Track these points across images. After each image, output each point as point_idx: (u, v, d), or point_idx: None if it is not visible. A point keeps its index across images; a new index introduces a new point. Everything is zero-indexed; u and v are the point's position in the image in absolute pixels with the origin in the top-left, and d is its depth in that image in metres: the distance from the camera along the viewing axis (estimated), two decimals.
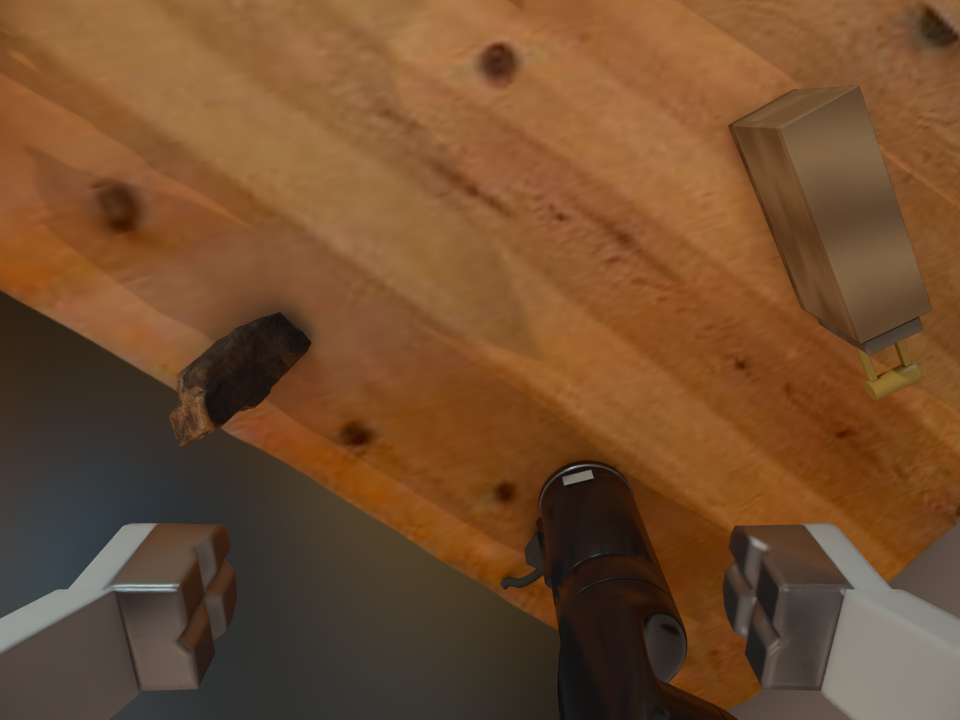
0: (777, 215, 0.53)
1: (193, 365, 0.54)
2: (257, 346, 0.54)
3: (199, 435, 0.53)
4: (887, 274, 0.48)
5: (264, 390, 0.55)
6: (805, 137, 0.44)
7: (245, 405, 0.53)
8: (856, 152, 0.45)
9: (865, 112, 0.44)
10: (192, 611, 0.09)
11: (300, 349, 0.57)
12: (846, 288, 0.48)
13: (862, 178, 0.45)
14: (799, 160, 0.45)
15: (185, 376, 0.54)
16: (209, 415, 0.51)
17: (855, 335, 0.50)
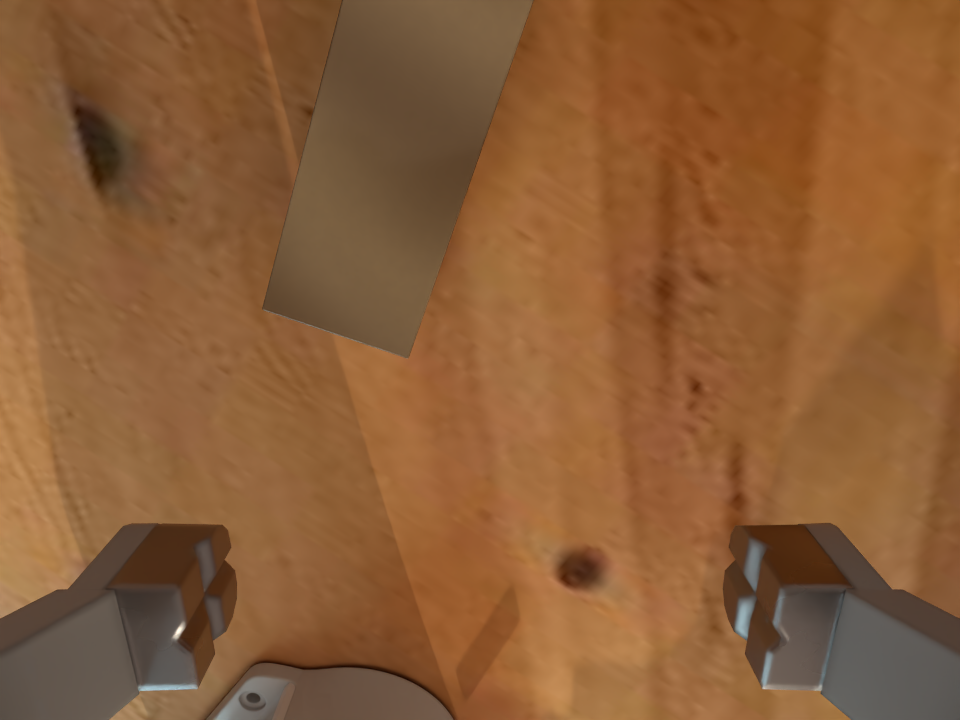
0: None
1: None
2: None
3: None
4: None
5: None
6: (386, 313, 0.24)
7: None
8: (331, 216, 0.22)
9: (278, 263, 0.23)
10: (192, 611, 0.09)
11: None
12: None
13: (352, 164, 0.22)
14: (419, 289, 0.23)
15: None
16: None
17: None
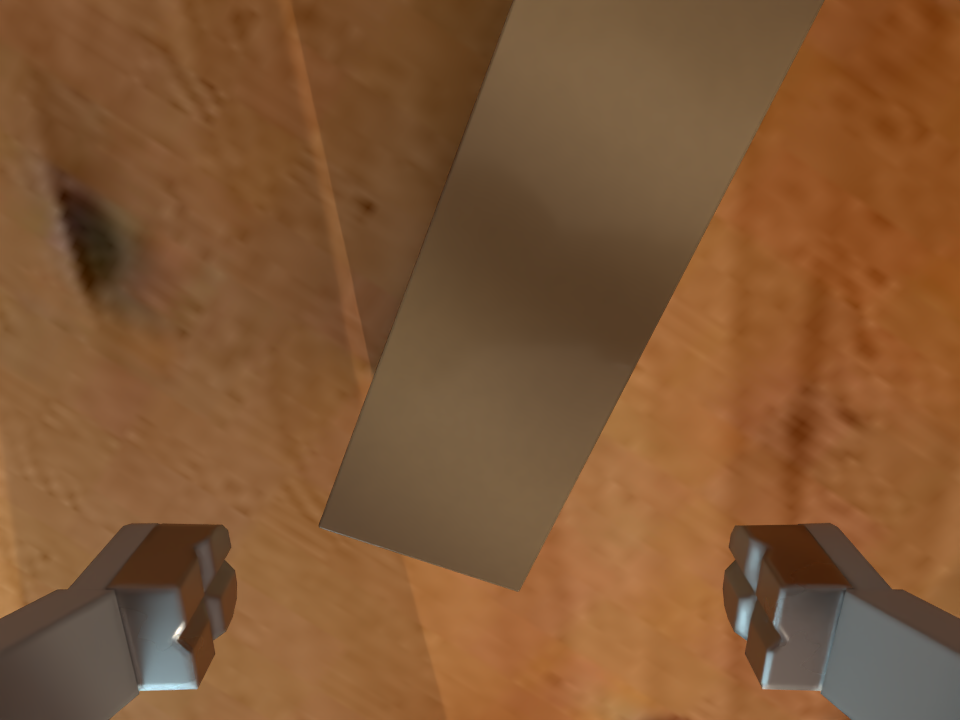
0: None
1: None
2: None
3: None
4: (632, 7, 0.12)
5: None
6: (494, 536, 0.17)
7: None
8: (428, 411, 0.15)
9: (346, 470, 0.16)
10: (192, 611, 0.09)
11: None
12: (753, 93, 0.13)
13: (464, 344, 0.15)
14: (545, 507, 0.16)
15: None
16: None
17: None
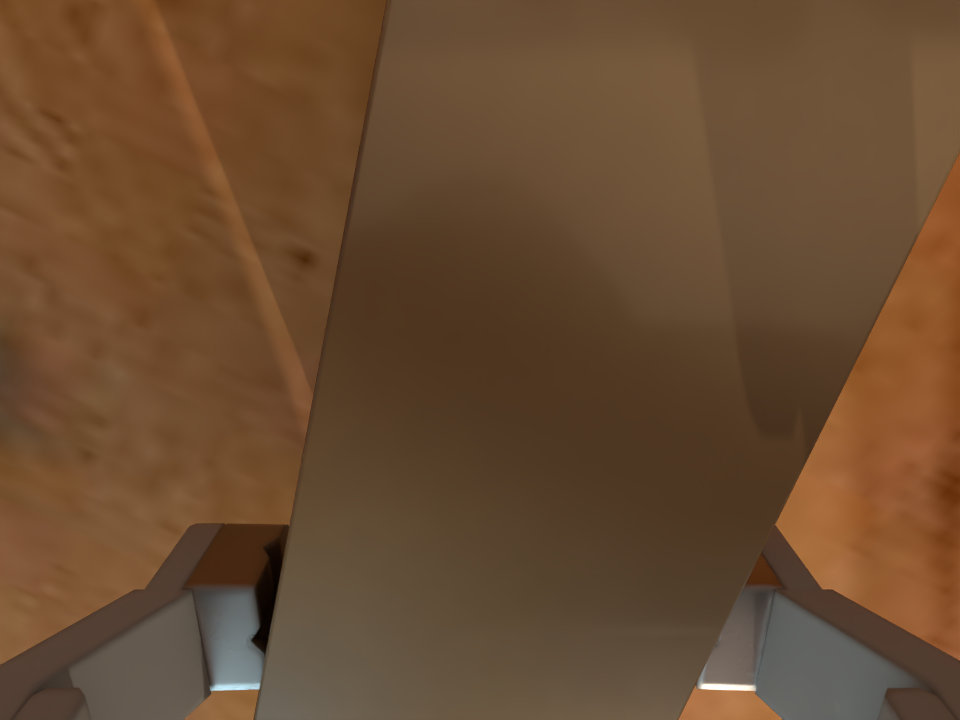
0: None
1: None
2: None
3: None
4: None
5: None
6: None
7: None
8: (382, 663, 0.08)
9: None
10: (265, 611, 0.09)
11: None
12: None
13: (429, 548, 0.08)
14: None
15: None
16: None
17: None
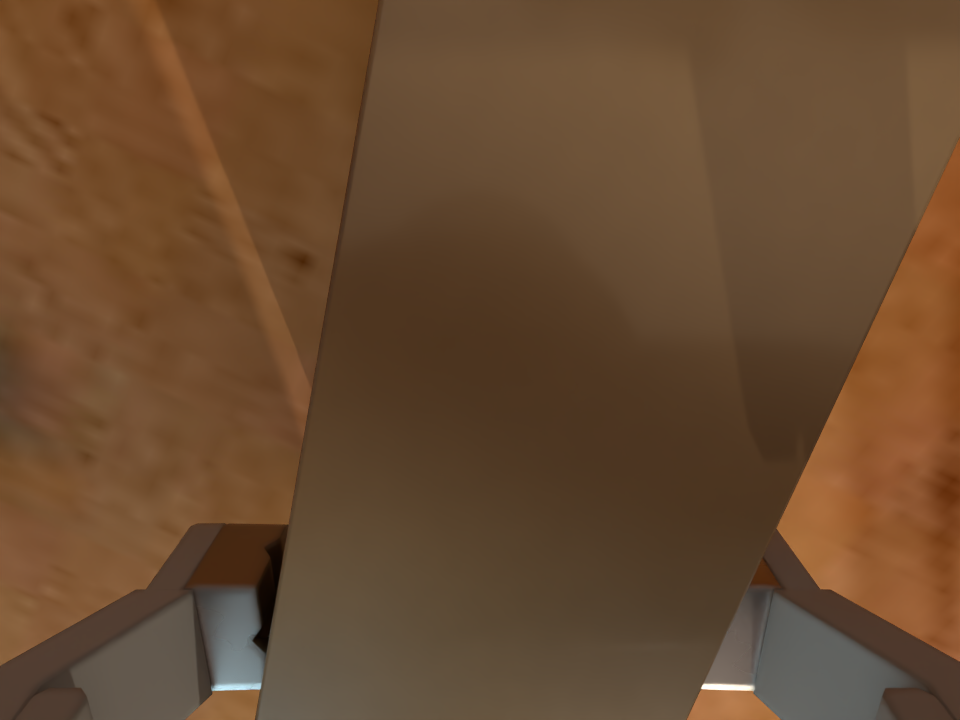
0: None
1: None
2: None
3: None
4: None
5: None
6: None
7: None
8: (381, 671, 0.08)
9: None
10: (266, 611, 0.09)
11: None
12: None
13: (428, 553, 0.08)
14: None
15: None
16: None
17: None
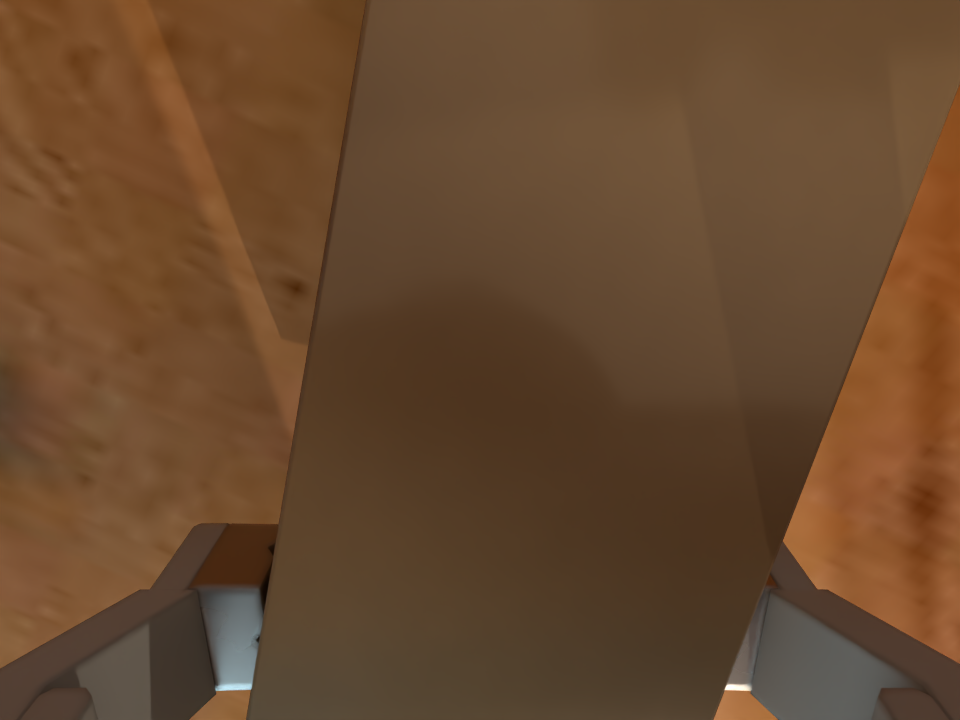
0: None
1: None
2: None
3: None
4: None
5: None
6: None
7: None
8: (377, 698, 0.08)
9: None
10: None
11: None
12: None
13: (425, 563, 0.07)
14: None
15: None
16: None
17: None
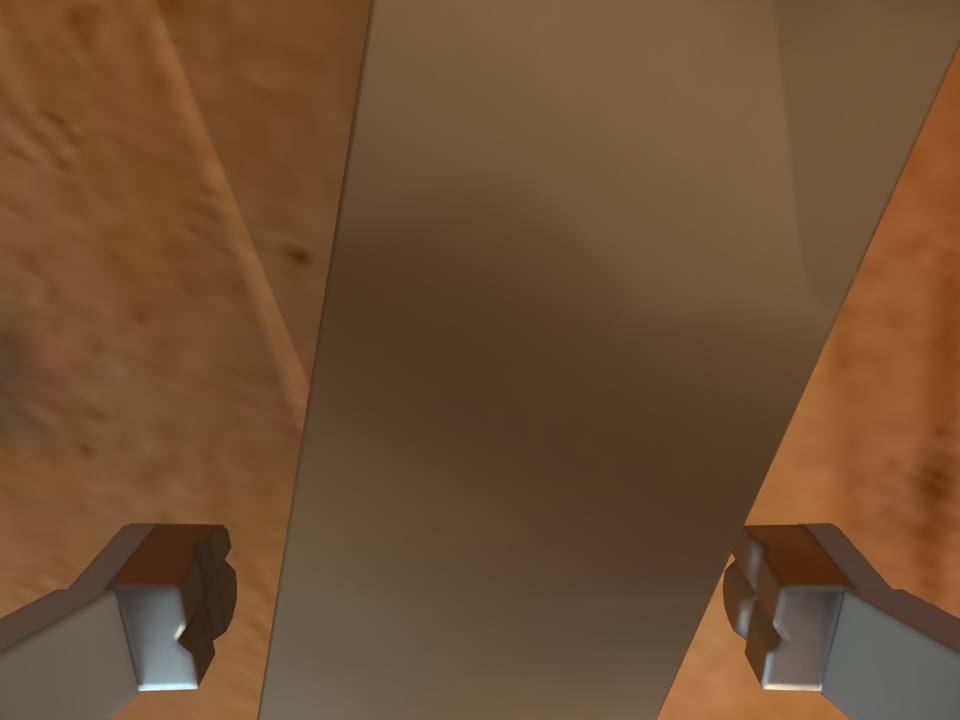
0: None
1: None
2: None
3: None
4: None
5: None
6: None
7: None
8: (376, 664, 0.09)
9: None
10: (192, 611, 0.09)
11: None
12: (925, 16, 0.06)
13: (417, 554, 0.08)
14: None
15: None
16: None
17: None
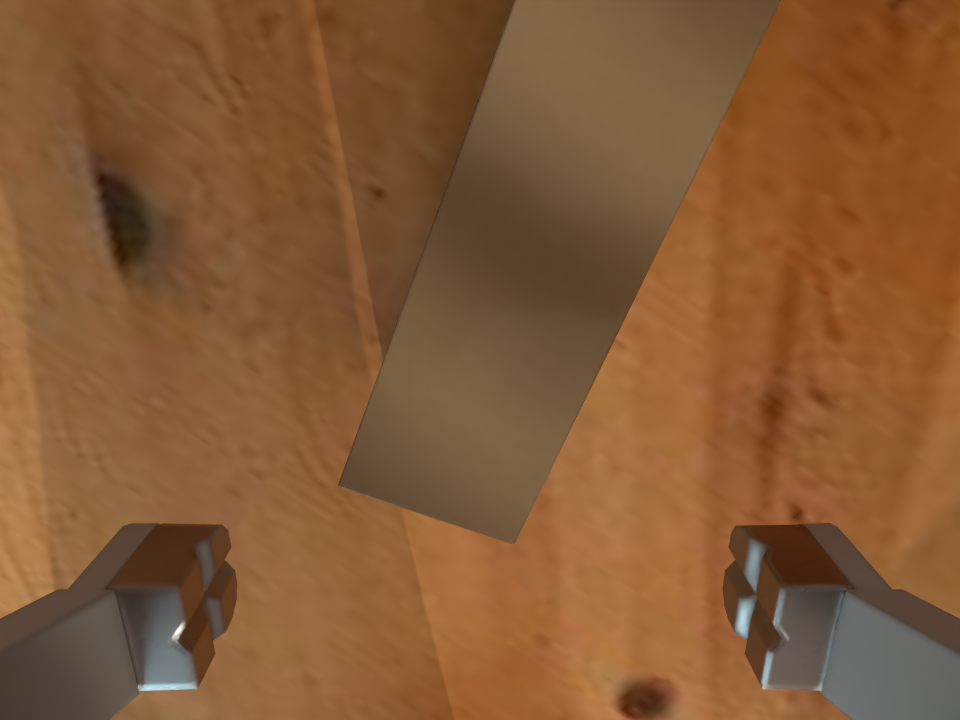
0: None
1: None
2: None
3: None
4: (603, 36, 0.15)
5: None
6: (492, 494, 0.19)
7: None
8: (433, 383, 0.18)
9: (362, 435, 0.18)
10: (192, 611, 0.09)
11: None
12: (707, 108, 0.15)
13: (464, 324, 0.17)
14: (536, 468, 0.19)
15: None
16: None
17: None
